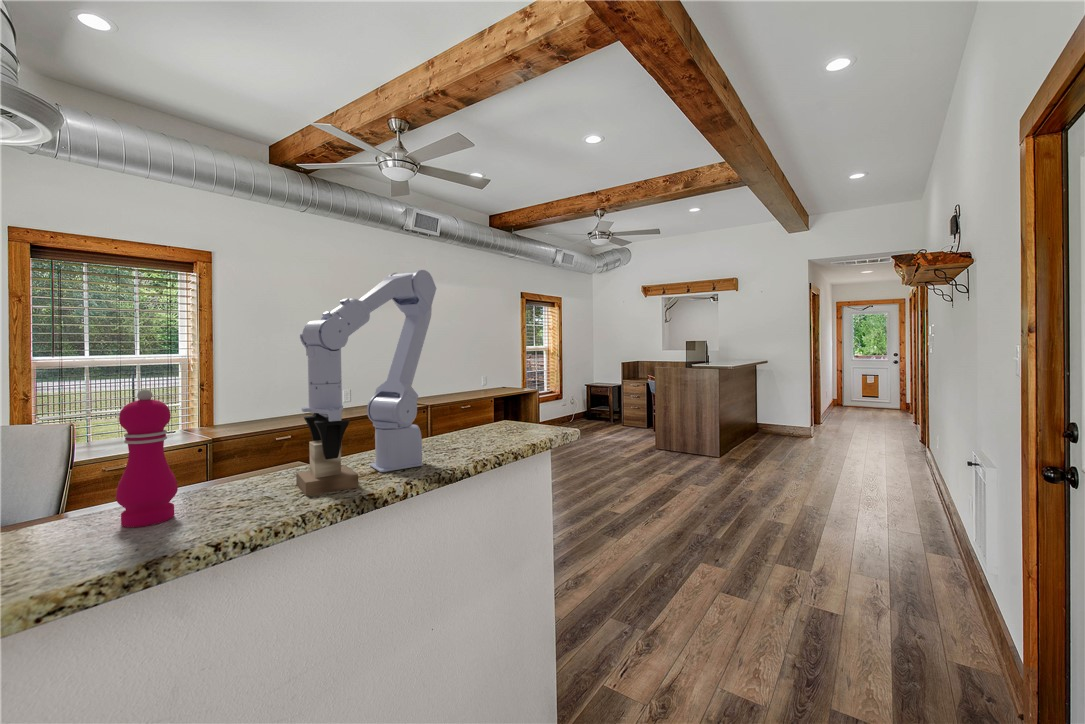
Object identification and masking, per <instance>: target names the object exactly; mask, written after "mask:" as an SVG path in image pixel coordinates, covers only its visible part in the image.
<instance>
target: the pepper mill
mask: <svg viewBox="0 0 1085 724" xmlns="http://www.w3.org/2000/svg"><path fill="white" fill-rule="evenodd" d="M152 397H153V392H152V391H151V390H149V389H146V388H145V389H141V390H139V391H138V392H137V395H136V398H138V400H134V401H131V402H129V403H127V404H126V405H125V406H123V408H122V409H121V410H120V412H119V417H118V421H119V424H120V426H121V427H122V428H123V429H124V430H125V431H126V432H125V434H124V435H123V436H124V440H123V441H124V444H127V449H128V457H127V458H128V459H127V464H126V467H125V469H124V472H123V473H122V475H121V478H120V480H119V481H118V484H117V487H116V490H115V491H116V492H115V493H116V494H115V500H116V502H117V504H118V505H119V506H121V507H122V508H124V509H125V510H123V511H122V512H121V513H120V525H121V526H122V527H123V528H142V527H149V526H153V525H157V524H161V523H164V522H166V521H167V522H168V520H171V519H173V518H174V516H175V504H174V503H173V502H172V503H171V501H172V499H173V498H174V497H175V496H176V494H177V493H178V488H179V487H178V481H177V479H176V476H175V474H174V472H173V470H172V468H170V466H169V464H168V461H167V458H166V455H165V449H164V447H165V441H166V440H167V439H168V436H167V433H168V431H167V430H166V429H165V427H166V426H168V424H169V423H170V421H171V411H170V409H169V406H168V405H167V404H166V403H165V402H163V401H160V400H156V399H152Z"/></svg>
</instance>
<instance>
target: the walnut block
mask: <svg viewBox="0 0 1085 724" xmlns="http://www.w3.org/2000/svg"><path fill="white" fill-rule="evenodd" d="M295 474H296V476H295V478H296V479H295V480H296V486H297V487H298V489H299V490H300V491H301V492H302V494H303V495H304V496H305V497H311V496H315V495H321V494H329V493H332V492H339V491H345V490H350V489H357V488H359V474H358V472H356V471H355V470H354V469H352V468H350V467H349V466H347V465H346V464H344V465H342V464H341V474H338V475H331V476H325V477H319V478H315V477H314V476H313V475H312V474H311V473H310V469H309V470H302V471H296V473H295Z"/></svg>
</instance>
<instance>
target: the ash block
mask: <svg viewBox="0 0 1085 724" xmlns="http://www.w3.org/2000/svg"><path fill="white" fill-rule="evenodd" d="M308 443H309V444H308V445H309V446H308V447H309V449H308V451H309V470H310V473H311V474H312V475H313V476H314V477H315V478H319V477H325V476H331V475H338V474H341V466H342V453H341V452H342V451H341V450H342V449H341V448H342V447H340V452H339V456H338V458H334V459H325V457H324V453H323V447H322V441H321V440H319V441H313V440H312V441H309V442H308Z"/></svg>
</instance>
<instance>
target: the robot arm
mask: <svg viewBox="0 0 1085 724" xmlns="http://www.w3.org/2000/svg"><path fill="white" fill-rule="evenodd" d="M436 291H437V286H436V283H435V281H434V279H433V276H432V275H431V273H430V272H429V271H428V270H425V269H419V270H414V271H406V272H393V273H390V274H389V275H388V276H385V277H383V278H382V281H380V282H379V283H378V284H376V285H375V286H374V287H373V288H372V289H371V290H369V291H367V293H365V294H364V295H363V296H362V297H360V298H359V299H358V298H343V299H341V300H339V304H340V305H338V306H337V307H335V308H333V309H332V310H330V311H324V312H323V313H322V317H321V319H314V320H310V321H308V322H307V323H306V324H305V325H304V328H303V329H302V333H300V334H299V338H300V339H299V340H300V342H301V344H302V345H303V346H304V348H305V352H306V353H305V354H306V356H307V384H308V388H307V389H308V406H307V407H301V412H303V413H312V415H306V416H304V417H303V419H304V421H305V422H306V424H307V426H308V428H309V431H310V435H311V438H312V441H319V440H321V441H322V447H323V453H324V457H325V459H334V458H338V456H339V452H340V447H341V446H342V440H343V438H344V435H345V432H346V430H347V428H348V426H349V424H350V421H349V420H348V419H342V411H343V410H344V405H343V389H342V384H343V383H342V348H344V347H346V345H347V343H348V340H349V337H350V336H351V335H352V334H354V333H355V332H356V331H358V330H359V329H361V328H362V327H363V326H365V325H366V324H367V323H368V322H369V321H370V319H371V318H370V317H371V313H372V312H374V311H376V310H377V309H378V308H381V306H382V305H384V304H386V303H388V302H389V301H391V300H392V301H393V302H394V304H395V305H396V306H397V308H398V309H399V310H400V312H401V313H403V314H404V316H405V319H404V321H403V326H402V329H401V332H400V334H399V338H398V341H397V344H396V345H397V346H396V347H395V352H394V355H393V358H392V360H391V361H392V362H391V365H390V368H389V371H388V374H387V379H386V380H385V381H384V382H383V383H381V384H380V385H379V386H378V387H376V389H375V392H374V395H373V396H372V397H371V398H370V400H369V401H368V403H367V405H366V414H367V417H368V419H369V420H370V421H371V422H372V427H374V430H375V431H374V439H375V440H374V441H375V443H374V445H375V446H374V448H375V449H374V453H375V462H370V463H369V467H372V468H373V469H374V470H376V471H378V472H380V473H386V472H393V471H399V470H405V469H410V468H417V467H422V466H424V463H423V455H422V454H423V447H422V446H423V445H422V443H423V442H422V440H423V439H422V437H423V436H422V432H421V429H420V427H419V425H418V424H413V422H415V419H416V417H417V416H418V415H417V414H418V399H419V395H418V393H417V391H415V389H414V388H413V381H414V378H415V374H416V372H417V367H418V364H419V361H420V357H421V355H422V354H421V353H422V350H423V347H424V344H425V340H426V336H427V332H428V329H429V325H430V322H431V319H432V309H433V307H432V305H433V301H434V299H435V294H436ZM341 448H342V447H341Z"/></svg>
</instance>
